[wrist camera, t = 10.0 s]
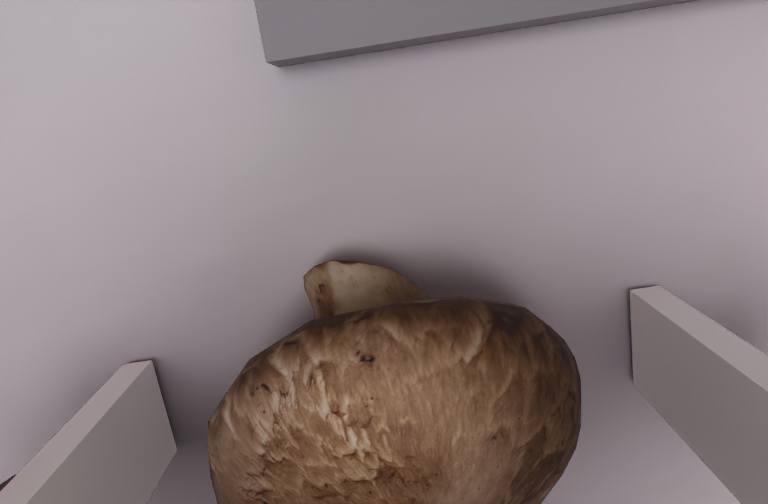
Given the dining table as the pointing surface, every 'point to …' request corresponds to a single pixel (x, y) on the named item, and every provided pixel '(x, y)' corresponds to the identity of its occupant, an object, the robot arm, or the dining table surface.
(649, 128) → the dining table surface
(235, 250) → the dining table surface
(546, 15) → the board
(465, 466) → the mushroom
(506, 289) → the dining table surface
